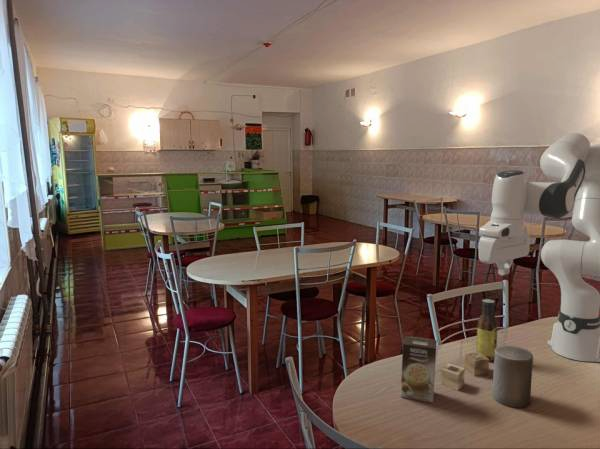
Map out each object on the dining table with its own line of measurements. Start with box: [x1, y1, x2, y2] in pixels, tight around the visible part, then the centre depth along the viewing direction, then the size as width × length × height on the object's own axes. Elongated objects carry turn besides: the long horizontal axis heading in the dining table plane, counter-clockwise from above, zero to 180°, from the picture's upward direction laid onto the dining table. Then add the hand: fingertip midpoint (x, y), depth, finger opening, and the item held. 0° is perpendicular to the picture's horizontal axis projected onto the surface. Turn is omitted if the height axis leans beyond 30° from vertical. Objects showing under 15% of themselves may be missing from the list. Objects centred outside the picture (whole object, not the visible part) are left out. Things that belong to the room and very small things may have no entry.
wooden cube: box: [464, 352, 490, 377], centre depth 138 cm, size 5×5×5 cm
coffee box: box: [399, 334, 437, 403], centre depth 124 cm, size 9×6×16 cm
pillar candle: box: [492, 345, 534, 409], centre depth 121 cm, size 10×10×15 cm
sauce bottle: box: [475, 298, 499, 362], centre depth 146 cm, size 6×6×20 cm
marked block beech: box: [440, 363, 466, 392], centre depth 130 cm, size 5×5×5 cm
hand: (503, 274), depth 127 cm, fingers closed
